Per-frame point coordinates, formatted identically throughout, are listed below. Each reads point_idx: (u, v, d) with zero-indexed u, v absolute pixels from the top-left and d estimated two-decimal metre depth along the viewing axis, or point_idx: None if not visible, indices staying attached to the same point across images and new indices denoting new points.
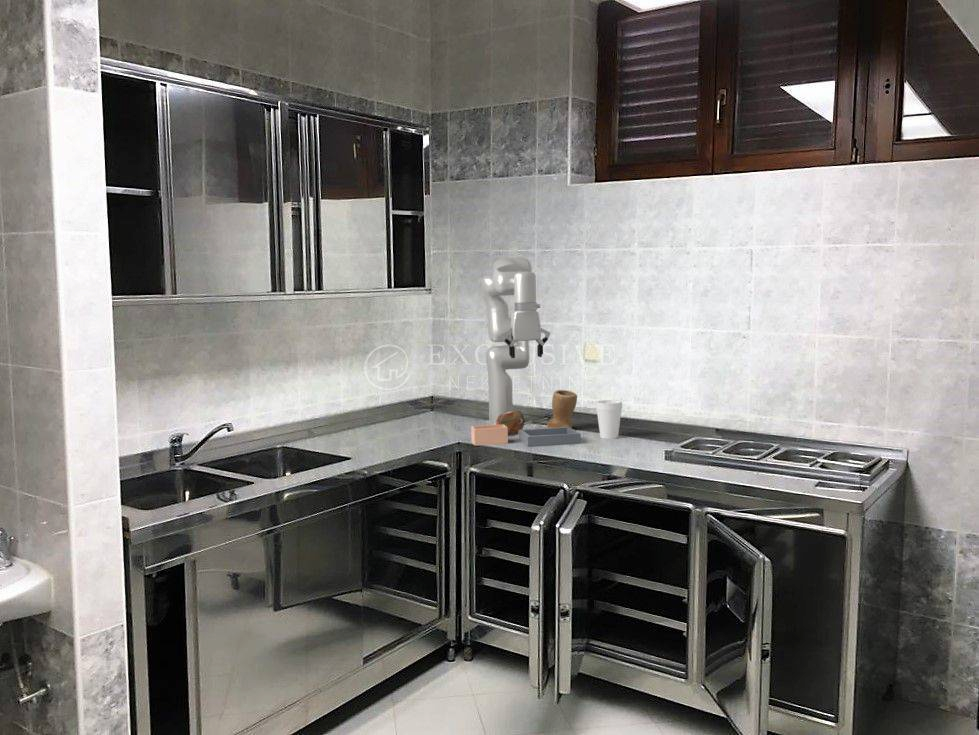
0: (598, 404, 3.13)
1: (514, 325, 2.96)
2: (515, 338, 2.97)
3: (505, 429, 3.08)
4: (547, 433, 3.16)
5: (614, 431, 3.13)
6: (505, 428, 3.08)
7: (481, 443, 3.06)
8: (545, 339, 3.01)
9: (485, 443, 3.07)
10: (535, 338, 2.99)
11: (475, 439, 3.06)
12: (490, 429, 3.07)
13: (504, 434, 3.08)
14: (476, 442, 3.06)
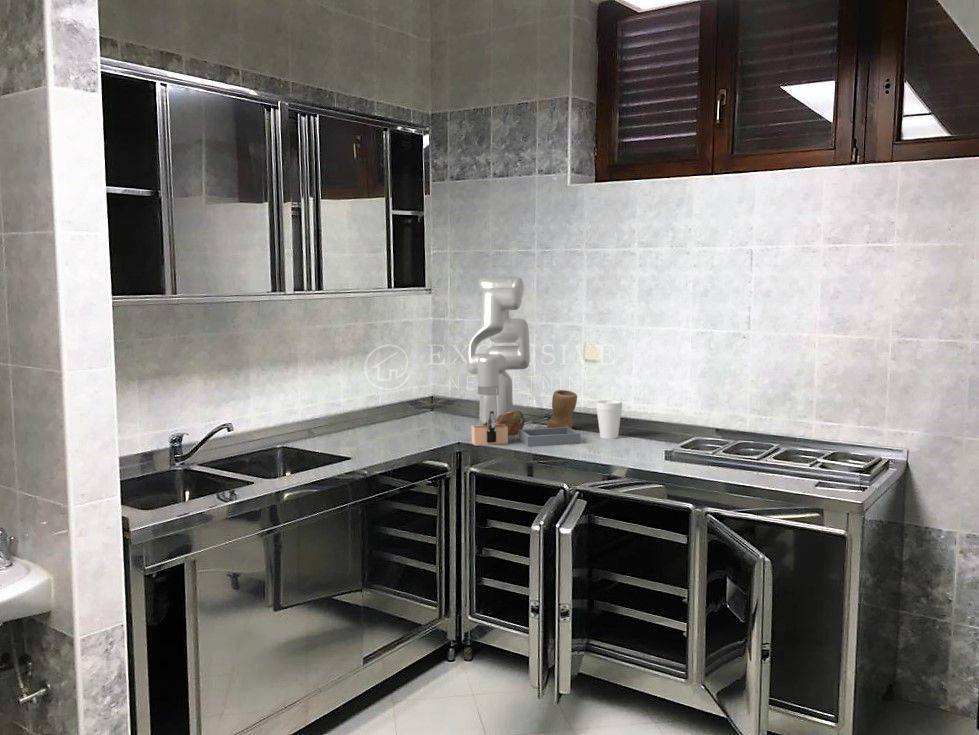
0: (598, 404, 3.13)
1: (496, 408, 3.05)
2: (496, 421, 3.06)
3: (505, 429, 3.07)
4: (547, 433, 3.16)
5: (614, 431, 3.13)
6: (505, 428, 3.08)
7: (481, 443, 3.06)
8: None
9: (485, 443, 3.07)
10: None
11: (475, 439, 3.06)
12: None
13: (504, 434, 3.08)
14: (476, 442, 3.06)
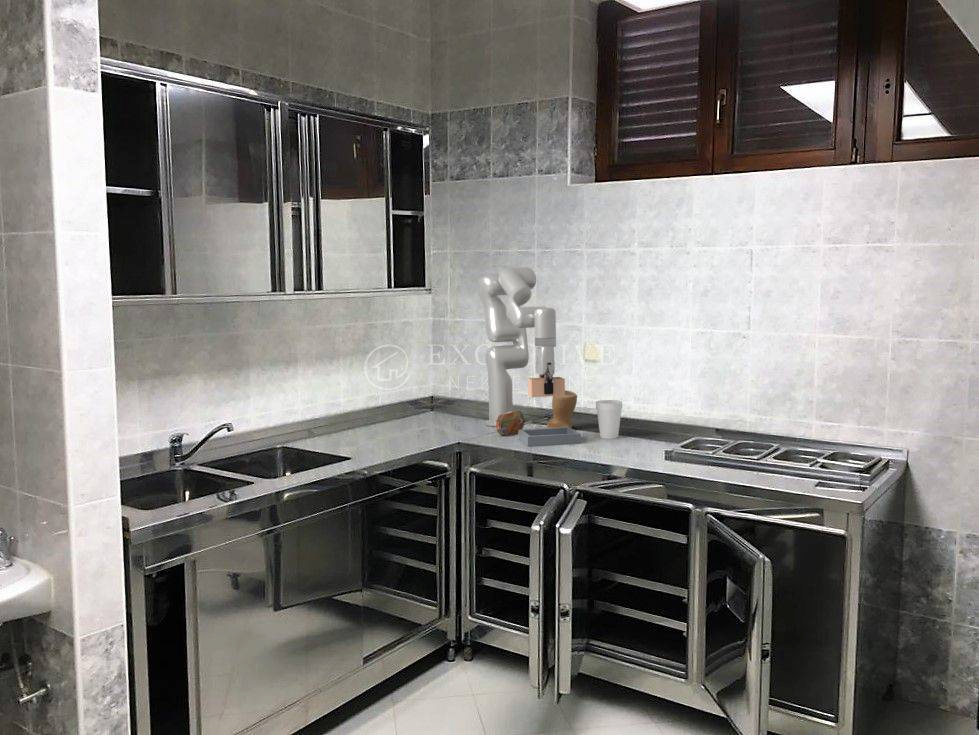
0: (598, 404, 3.13)
1: (554, 360, 3.03)
2: (554, 372, 3.04)
3: (562, 381, 3.06)
4: (547, 433, 3.16)
5: (614, 431, 3.13)
6: (562, 379, 3.06)
7: (538, 394, 3.05)
8: (544, 374, 3.13)
9: (542, 394, 3.05)
10: None
11: (532, 390, 3.04)
12: None
13: (561, 386, 3.06)
14: (533, 393, 3.04)
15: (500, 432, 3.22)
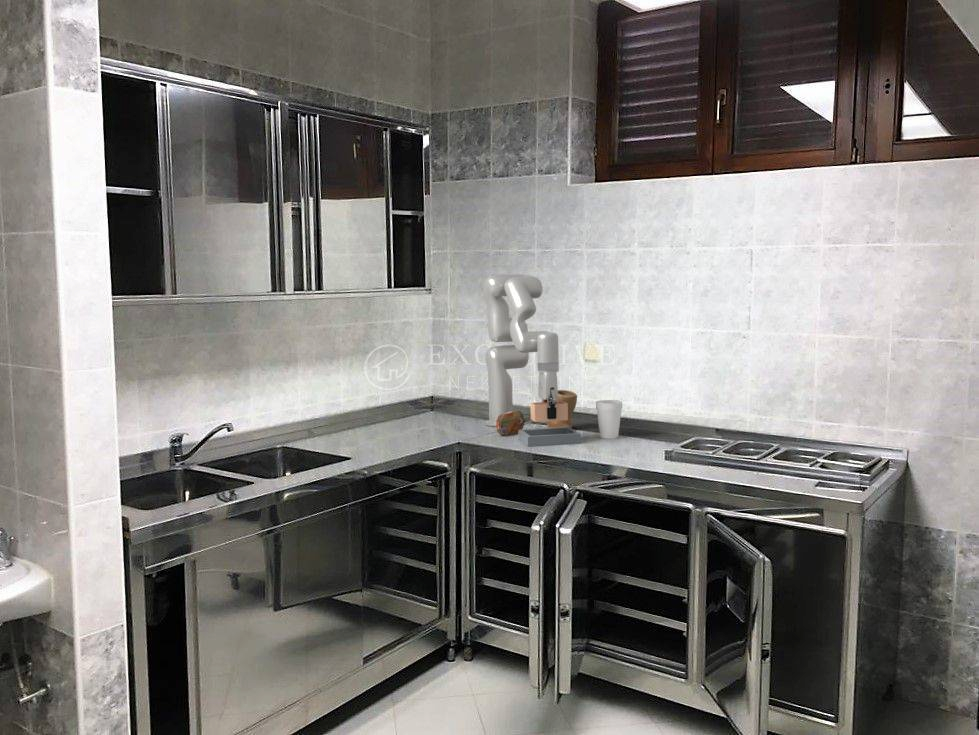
0: (598, 404, 3.13)
1: (557, 385, 3.04)
2: (557, 397, 3.05)
3: (565, 405, 3.07)
4: (547, 433, 3.16)
5: (614, 431, 3.13)
6: (565, 404, 3.07)
7: (541, 419, 3.06)
8: (547, 398, 3.14)
9: (545, 419, 3.06)
10: None
11: (535, 415, 3.05)
12: None
13: (564, 410, 3.07)
14: (536, 418, 3.05)
15: (500, 432, 3.22)
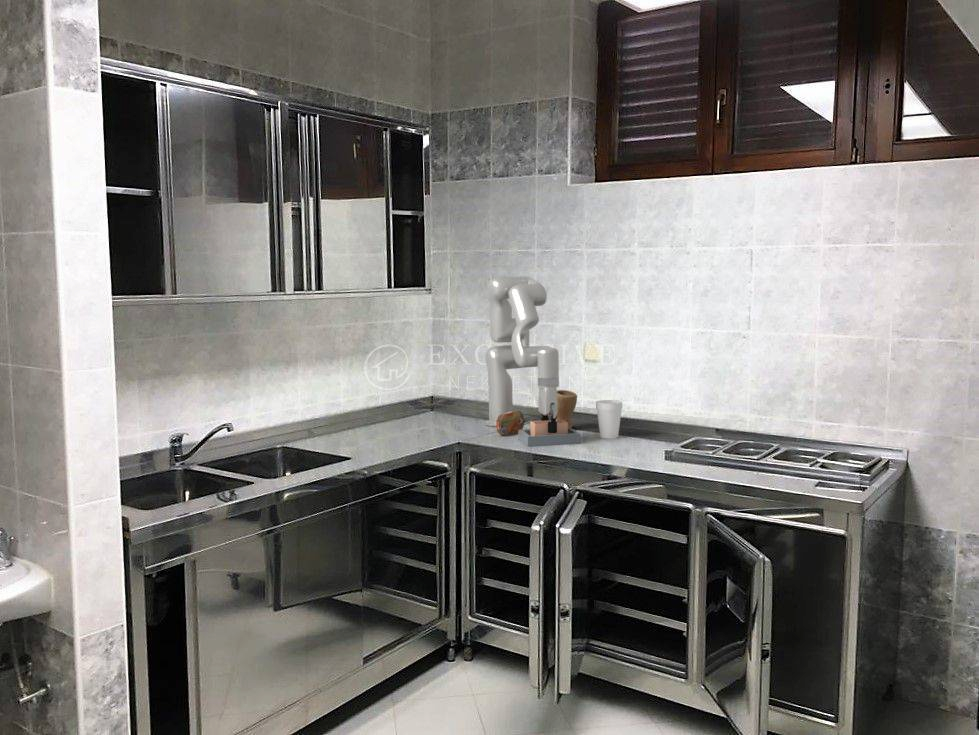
0: (598, 404, 3.13)
1: (557, 400, 3.05)
2: (557, 412, 3.06)
3: (565, 424, 3.08)
4: None
5: (614, 431, 3.13)
6: (565, 423, 3.08)
7: None
8: None
9: None
10: None
11: (535, 434, 3.06)
12: None
13: (564, 429, 3.08)
14: None
15: (500, 432, 3.22)
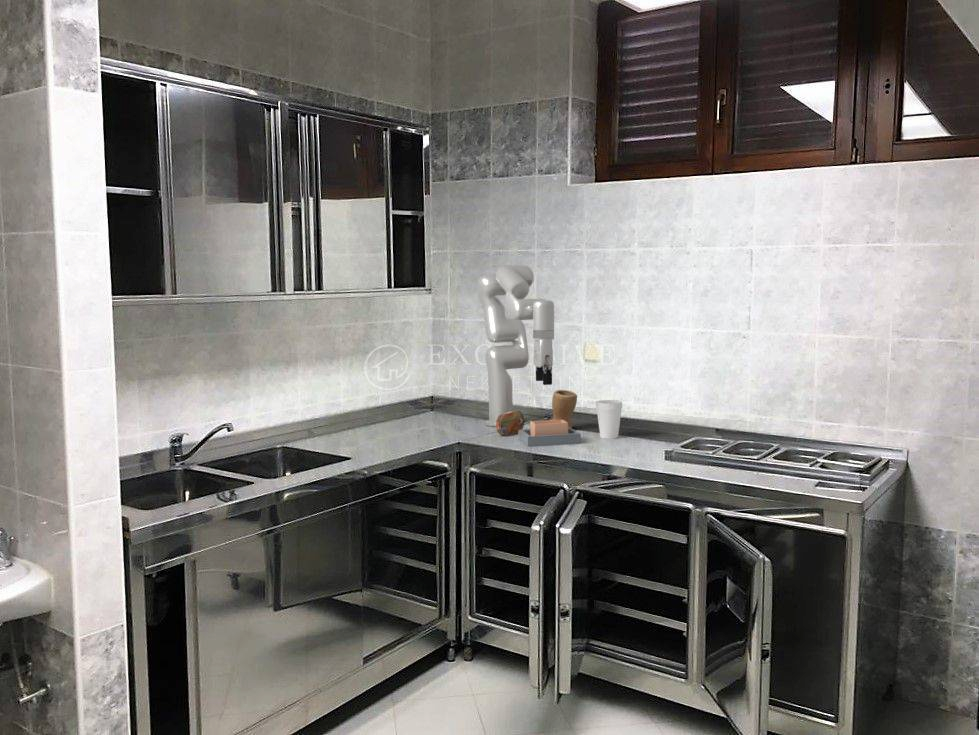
0: (598, 404, 3.13)
1: (552, 352, 3.05)
2: None
3: (565, 424, 3.08)
4: None
5: (614, 431, 3.13)
6: (565, 423, 3.08)
7: None
8: None
9: None
10: None
11: (535, 434, 3.06)
12: (550, 424, 3.07)
13: (564, 429, 3.08)
14: None
15: (500, 432, 3.22)
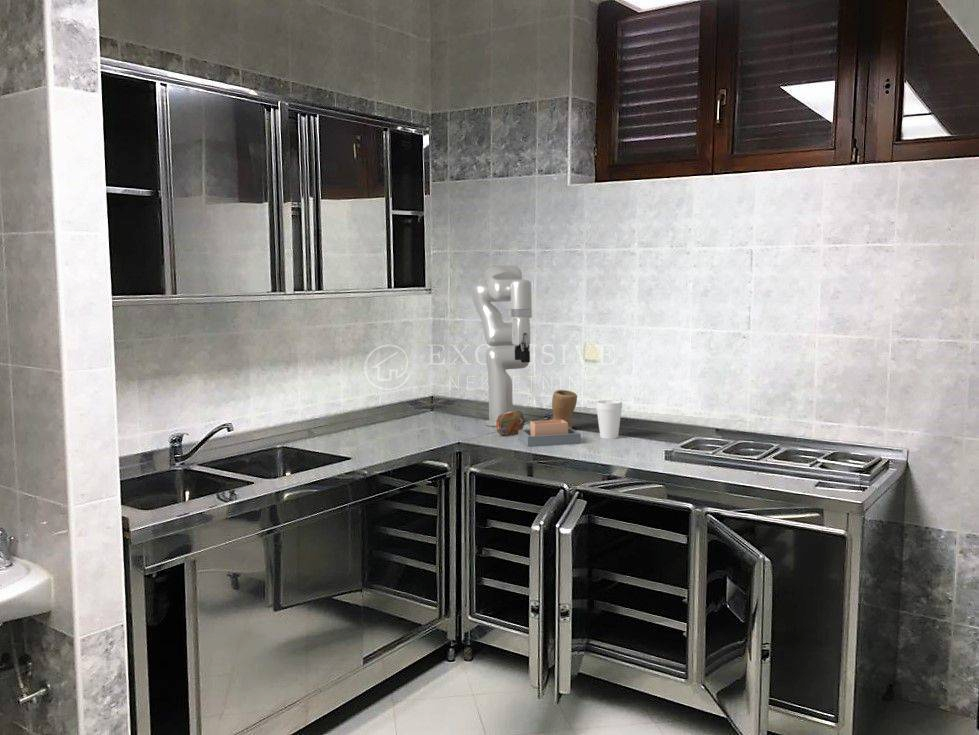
0: (598, 404, 3.13)
1: None
2: (529, 343, 3.11)
3: (565, 424, 3.08)
4: None
5: (614, 431, 3.13)
6: (565, 423, 3.08)
7: None
8: None
9: None
10: None
11: (535, 434, 3.06)
12: (550, 424, 3.07)
13: (564, 429, 3.08)
14: None
15: (500, 432, 3.22)
